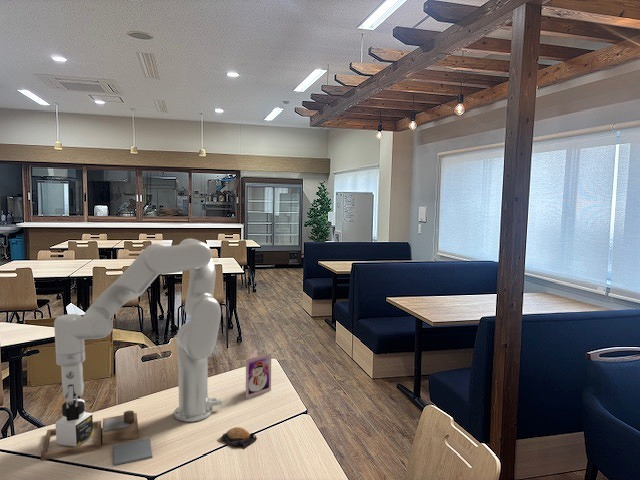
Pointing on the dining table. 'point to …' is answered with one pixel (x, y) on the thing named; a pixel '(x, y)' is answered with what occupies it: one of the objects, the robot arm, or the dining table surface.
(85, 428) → the medicine bottle
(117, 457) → the slate mat
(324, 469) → the dining table surface
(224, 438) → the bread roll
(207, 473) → the dining table surface
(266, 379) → the greeting card
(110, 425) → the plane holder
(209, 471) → the dining table surface
